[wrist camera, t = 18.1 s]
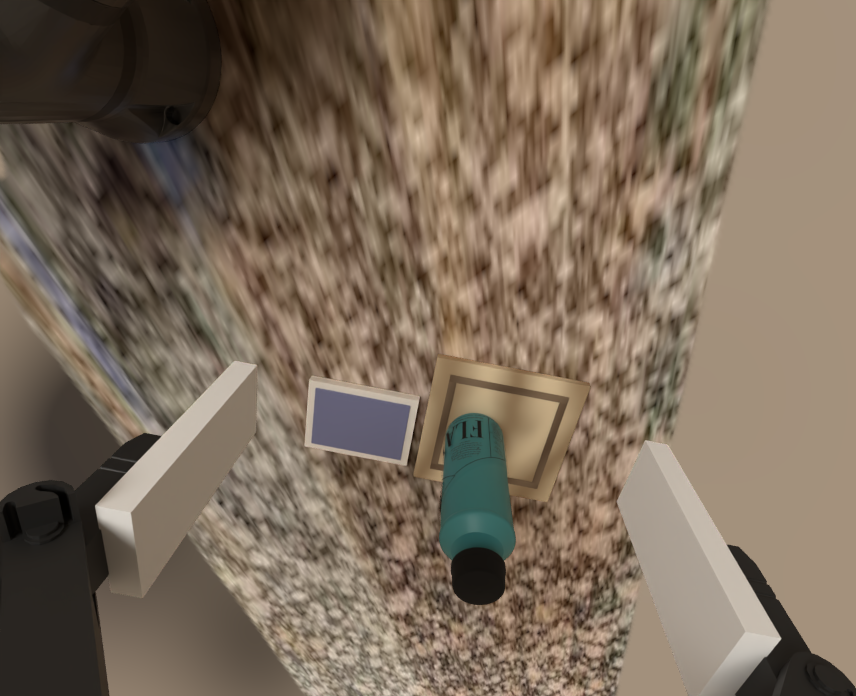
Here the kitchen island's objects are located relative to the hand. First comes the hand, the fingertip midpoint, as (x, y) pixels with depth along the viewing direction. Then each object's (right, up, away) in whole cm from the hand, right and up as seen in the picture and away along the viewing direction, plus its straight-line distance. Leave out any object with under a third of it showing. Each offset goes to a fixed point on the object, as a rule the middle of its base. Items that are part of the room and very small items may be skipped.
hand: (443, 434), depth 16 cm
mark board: (+7, -6, +38) cm, 39 cm away
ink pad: (-8, -5, +39) cm, 40 cm away
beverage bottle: (+5, -6, +37) cm, 38 cm away
